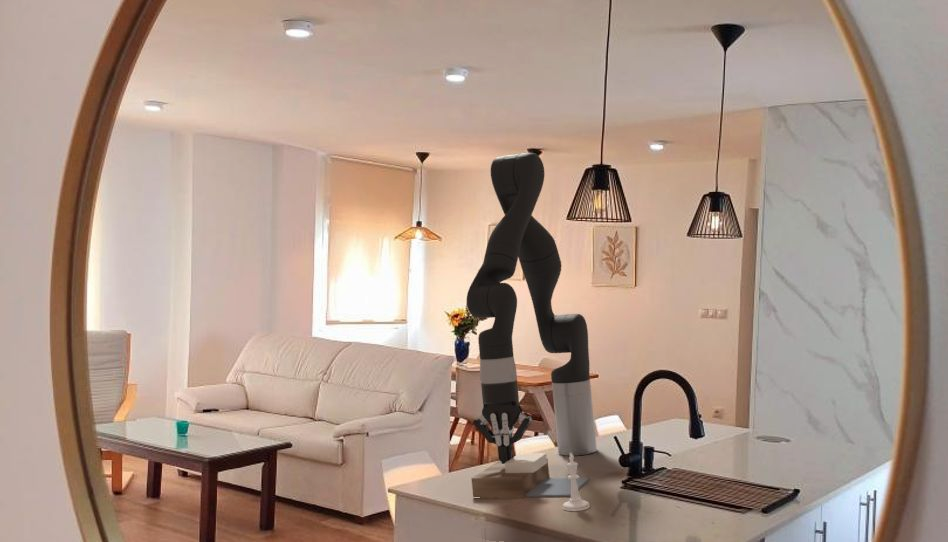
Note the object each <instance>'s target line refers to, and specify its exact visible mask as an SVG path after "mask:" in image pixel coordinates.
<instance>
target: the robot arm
mask: <svg viewBox="0 0 948 542" xmlns="http://www.w3.org/2000/svg"><path fill="white" fill-rule="evenodd" d="M490 179H491V182H492V186H493V189H494V192H495V195H496V197H497V200H498V203H499V204H500V207H501V210H502V211H503V215H504V216H503V217H502V218H501V219H500V221H499V222H498V223H497V224H496V226H495V227H494V229H493V230H492V232H491V234H490V236H489V238H488V242H487V243H486V244H487V245H486V249H485V253H484V257H483V262H482V264H481V266H480V268H479V269H478V270H477V273H476V275H475V277H474V278H473V280H472V282H471V284H470V286H469V288H468V290H467V294H466V307H467V308H466V309H467V310H468V312H469V314H470V315H471V316H472V317H473V318H476V319H489V318H494V321H493V325H492V326H491V328H488V329H485V330H482V331H480V332H479V335H478V349H479V351H478V352H479V358H480V360H479V364H480V365H479V380H480V386H481V397H482V404H483V405H482V406H483V407H482V410H481V415H479V416H478V417H477V418H475V419H474V420H473V422H472V423H473V425H474V426H475V428H476V429H477V431H479V433H480V434H481V435H482V436H483V437H484V439H485V440H486V441H487V442H488V443H489V444H493V445H496V447H497V456H498V461H499V460H500V461H501V462H502V464H505V463H506V462H507V461H509V460H510V459H512V458H514V457H515V456H514V444H515V443H517V442H519V441H521V439H522V437H523V436H524V435H525V433H526V431H527V430H528V428H529V426H530V425H531V423H532V422H533V419H534V418H533V417H532V416H531V415H529V416H528V415H527V414H525V413H524V412H523V409H522V406H521V404H520V398H519V397H520V396H519V386H518V377H517V367H516V361H515V357H514V348H513V347H514V345H513V332H514V325H515V320H516V314H517V308H518V298H517V294H516V291H515V289H514V288H513V287H512V286H513V285H512V286H511V285H510V284H509V283H506V282H504V281H506V280H509V279H511V278H512V277H513V276H514V274H515V272H516V268H517V265H518V260H519V264H520V267H521V270H522V274H523V277H524V279H525V282H526V285H527V288H528V292H529V295H530V299H531V301H532V306H533V310H534V315H535V320H536V324H537V325H536V326H537V330H538V334H539V339H540V342H541V345H542V346H543V349H545V351H546V352H547V353H548V354H549V353H550V354H562V353H563V354H566V353H570V359H569V361H567V362H566V363H565V364H563V365H561V366H559V367H556V368H554V369H553V370H552V371H550V377H551V379H550V380H551V387H552V396H553V407H554V408H553V409H554V417H555V418H554V419H555V430H556V441H557V450H558V454H559V455H562V456H570V453H573V456H581V455H582V456H583V455H588V454H589V455H590V454H592V453H596V452H597V441H596V438H597V437H596V429H595V428H596V427H595V419H594V418H595V417H594V408H593V407H594V406H593V405H594V404H593V396H592V389H591V388H592V387H591V386H592V385H591V379H590V378H591V377H590V376H591V375H590V353H589V352H590V349H589V332H588V325H587V321H586V318H585V317H584V316H583V314H580V313H567V314H556V315H555V313H554V311H553V308H552V298H553V295H554V291H555V289H556V286H557V284H558V281H559V279H560V276H561V271H562V260H561V257H560V254H559V250H558V246H557V244H556V241H555V239H554V237H553V236H552V235H551V233H550V232H549V230H547V229H546V228H545V227H544V226H543V225H542V224H541V223H540V222H539V221H538V220H537V219H536V218H535V217H534V216H533V215H532V214H533V212H534V210H535V207H536V204H537V202H538V200H539V197H540V194H541V192H542V189H543V186H544V181H545V166H544V162H543V161H542V158H541V156H539V155H538V154H536V153H534V152H524V153H515V154H514V153H513V154H509V155H508V154H507V155H502V156H498V157H495V158H494V159H493V160H492V162H491V164H490ZM517 422H518V423H519V426H518V427H517V429H516V431H515V432H514V430H515V429H514V428H515V425H516V424H517ZM488 424H489V425H490V427H491V428H492V429H491V428H490V427H489V425H488Z"/></svg>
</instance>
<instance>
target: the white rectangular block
mask: <svg viewBox="0 0 948 542" xmlns="http://www.w3.org/2000/svg"><path fill="white" fill-rule="evenodd" d="M547 457H548V456H547V453H545V452H543V453H540V452H539V453H518V454H517V455H515V456H514V458H512V459H510V460H509V461H507V462H506V463H505V472H506V473H534V472H535V471H537V470H538V469H540V468H541V467H542V466H544V465H545V464H546V463H547V459H548V458H547Z"/></svg>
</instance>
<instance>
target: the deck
mask: <svg viewBox="0 0 948 542" xmlns="http://www.w3.org/2000/svg"><path fill="white" fill-rule="evenodd" d="M545 478H550V471H549V461H548V458H547V463H546V464H545V465H544V466H542V467H541V468H540V469H538V470H537V471H535V472H534V473H506V472H505V464H502V462H501V461H500V460H499V459H498V461H496V462H495V463H493V464H492V465H490V466H489V467H487V468H485V469H484V470H482V471H481V472H479V473H478V474H476V475H475V476H473V477H472V478H471V489H472V498H473V497H480V498H479V499H524V498H526V497H525V494H526V493H528V492H529V491H530V490H531V489H533V488H534V487H535V486H536V485H538V484H539V483H540V482H541V481H542V480H544V479H545Z"/></svg>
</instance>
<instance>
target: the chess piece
mask: <svg viewBox="0 0 948 542" xmlns="http://www.w3.org/2000/svg"><path fill="white" fill-rule="evenodd" d="M574 458H575V455H573V453H570V455H569V457H568V460H569V462H567V463H566V467H567V469H568V472H569V475H568V476H567V478H568V479H571V497H570V498H569V500H568V501H565V502H564V503H563V504H562V510H564V511H567V512H582V511H585V510H588V509H589V508H591V507H590V502H589V501H587V500H584V499H583V498H582V497H581V496H580V491H579V490H578V486H577V481H576V479H577V478H580V476H579V475H578V474H577V468H578V464H579V463H578V462H576V461H574Z"/></svg>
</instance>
